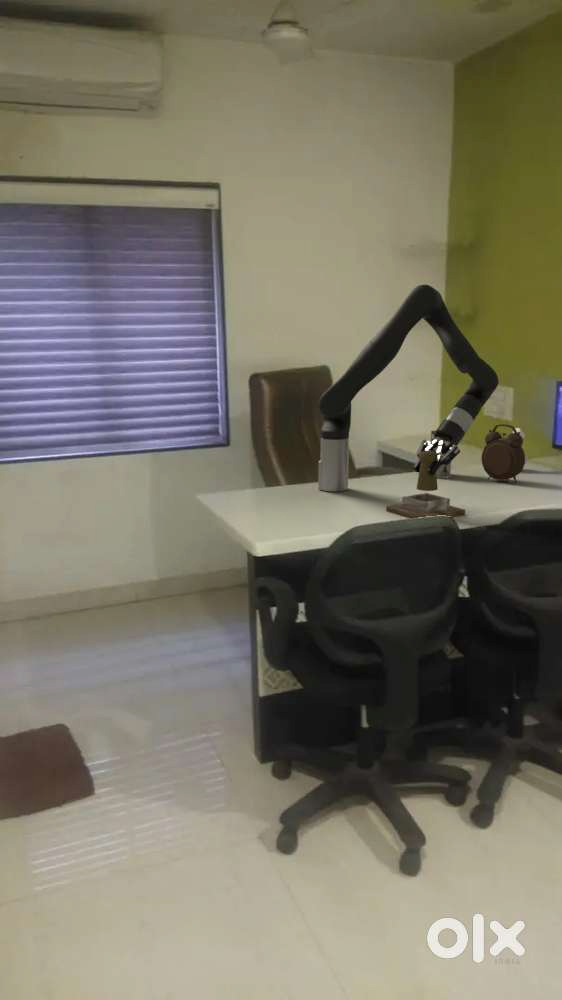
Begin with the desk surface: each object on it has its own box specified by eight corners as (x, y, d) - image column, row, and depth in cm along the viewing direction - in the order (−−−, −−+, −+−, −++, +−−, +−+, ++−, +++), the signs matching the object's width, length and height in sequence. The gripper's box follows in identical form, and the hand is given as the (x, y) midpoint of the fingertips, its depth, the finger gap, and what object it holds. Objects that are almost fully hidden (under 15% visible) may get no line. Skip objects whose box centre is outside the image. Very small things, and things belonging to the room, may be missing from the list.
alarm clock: (526, 483, 264) (530, 425, 259) (514, 486, 259) (518, 427, 255) (490, 477, 275) (494, 421, 270) (478, 479, 270) (481, 423, 266)
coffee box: (428, 473, 281) (430, 430, 278) (446, 473, 281) (448, 430, 278) (433, 478, 272) (435, 433, 269) (451, 478, 272) (453, 433, 269)
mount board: (424, 522, 211) (425, 506, 210) (386, 511, 224) (386, 496, 223) (465, 514, 220) (465, 499, 219) (425, 504, 233) (426, 489, 232)
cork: (439, 487, 222) (441, 450, 220) (434, 491, 217) (436, 453, 214) (419, 485, 225) (420, 448, 222) (414, 489, 219) (415, 452, 217)
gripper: (430, 416, 226) (399, 460, 222) (466, 421, 214) (434, 467, 211) (442, 432, 230) (412, 476, 226) (479, 438, 218) (447, 484, 215)
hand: (422, 471), depth 218 cm, fingers closed on cork, 5 cm apart
